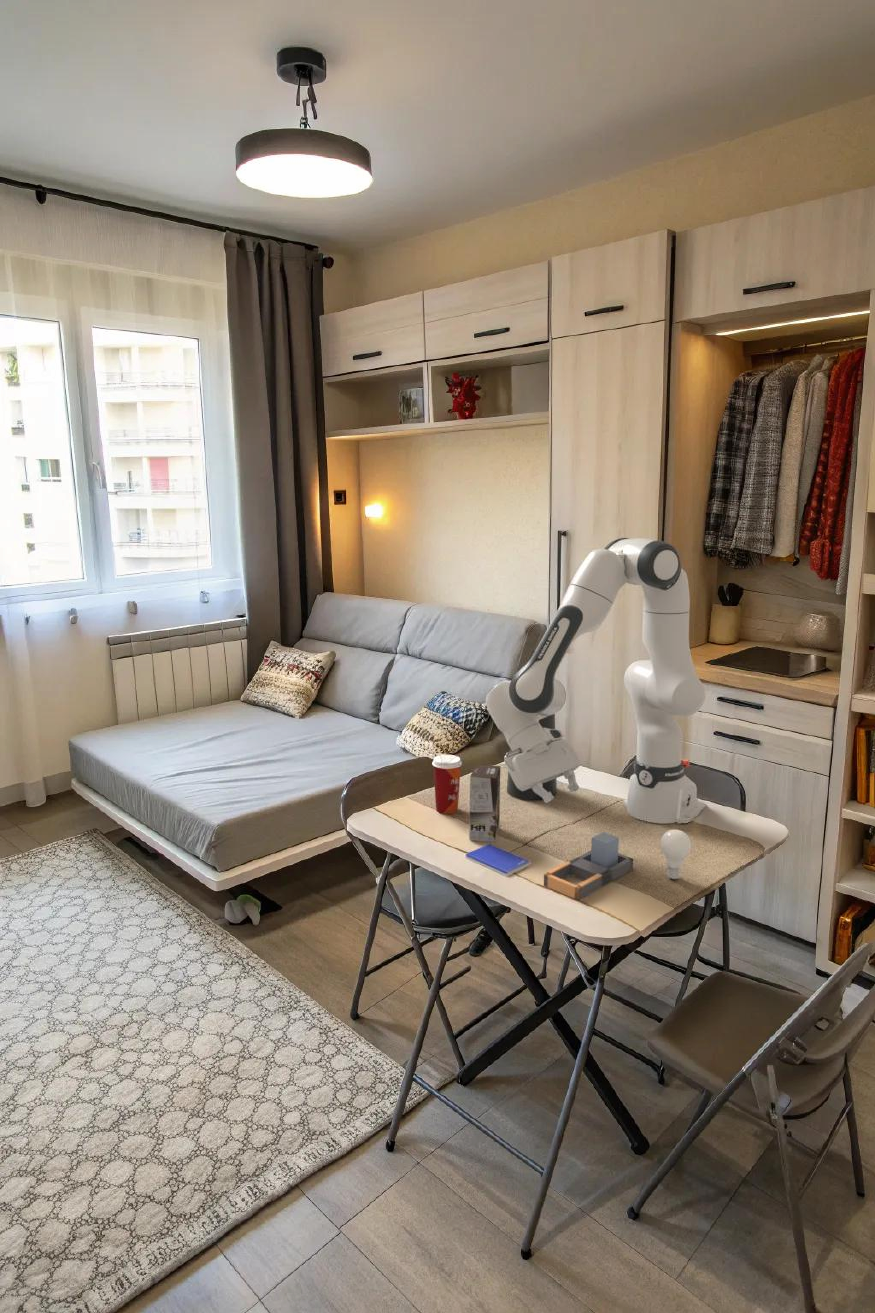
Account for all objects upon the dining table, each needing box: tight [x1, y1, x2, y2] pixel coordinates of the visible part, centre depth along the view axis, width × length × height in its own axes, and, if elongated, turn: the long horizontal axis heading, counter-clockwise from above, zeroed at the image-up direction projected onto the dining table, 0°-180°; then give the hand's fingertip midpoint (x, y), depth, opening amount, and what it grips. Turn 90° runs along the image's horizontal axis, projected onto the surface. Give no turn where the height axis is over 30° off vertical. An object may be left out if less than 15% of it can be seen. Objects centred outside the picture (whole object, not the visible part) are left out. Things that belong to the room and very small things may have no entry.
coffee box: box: [468, 764, 501, 843], centre depth 200 cm, size 9×6×16 cm
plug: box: [590, 831, 620, 869], centre depth 183 cm, size 4×4×8 cm
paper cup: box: [431, 754, 463, 815], centre depth 215 cm, size 8×8×14 cm
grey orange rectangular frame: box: [543, 850, 634, 901], centre depth 179 cm, size 20×9×3 cm, turn 134°
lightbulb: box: [659, 829, 692, 880], centre depth 178 cm, size 6×6×11 cm
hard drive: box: [465, 843, 532, 877], centre depth 187 cm, size 2×8×12 cm
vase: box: [506, 713, 558, 802], centre depth 226 cm, size 14×14×29 cm
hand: (563, 795), depth 189 cm, fingers open, 8 cm apart
